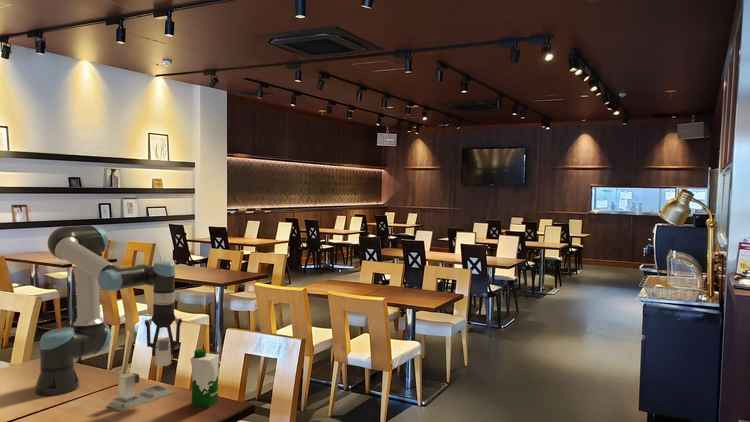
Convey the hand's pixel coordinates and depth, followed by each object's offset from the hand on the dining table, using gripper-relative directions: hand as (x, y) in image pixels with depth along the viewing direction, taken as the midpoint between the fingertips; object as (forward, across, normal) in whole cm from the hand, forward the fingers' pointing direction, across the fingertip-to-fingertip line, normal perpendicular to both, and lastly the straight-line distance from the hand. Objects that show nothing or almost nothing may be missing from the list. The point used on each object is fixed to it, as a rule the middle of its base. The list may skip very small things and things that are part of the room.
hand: (162, 363), depth 211 cm
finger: (0, 0, 0) cm, 0 cm away
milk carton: (+14, +15, -9) cm, 22 cm away
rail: (+14, -8, +3) cm, 16 cm away
